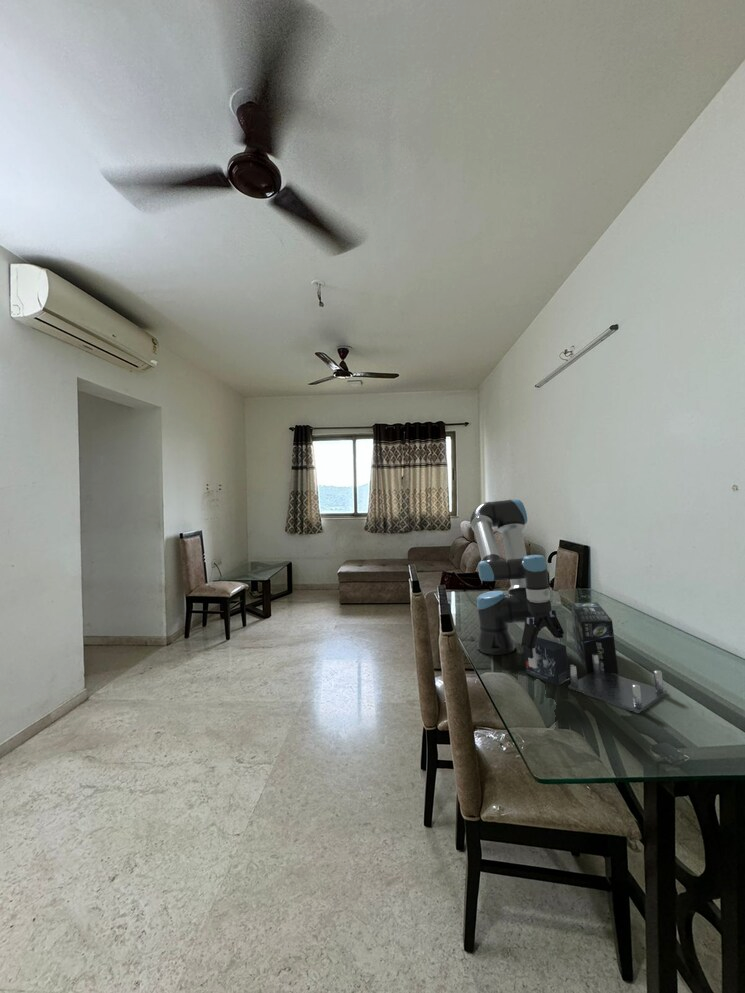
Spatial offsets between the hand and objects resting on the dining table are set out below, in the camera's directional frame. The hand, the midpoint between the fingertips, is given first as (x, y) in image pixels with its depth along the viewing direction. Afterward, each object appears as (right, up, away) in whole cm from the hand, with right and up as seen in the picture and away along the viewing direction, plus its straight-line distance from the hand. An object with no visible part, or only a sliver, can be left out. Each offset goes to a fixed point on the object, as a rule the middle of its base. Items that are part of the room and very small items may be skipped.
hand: (545, 661), depth 138 cm
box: (+23, -4, +9) cm, 25 cm away
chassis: (+16, -4, -14) cm, 21 cm away
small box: (+1, -6, 0) cm, 6 cm away
